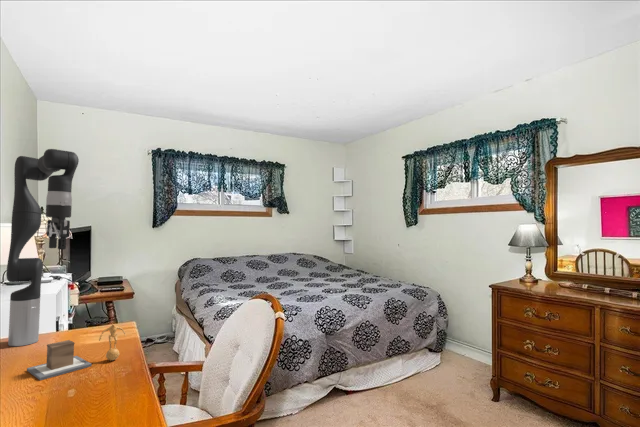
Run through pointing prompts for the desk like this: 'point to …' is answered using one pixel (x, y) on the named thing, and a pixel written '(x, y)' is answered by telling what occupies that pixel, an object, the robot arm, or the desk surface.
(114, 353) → the figurine
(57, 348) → the walnut box
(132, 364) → the desk surface
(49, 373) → the mat
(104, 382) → the desk surface
